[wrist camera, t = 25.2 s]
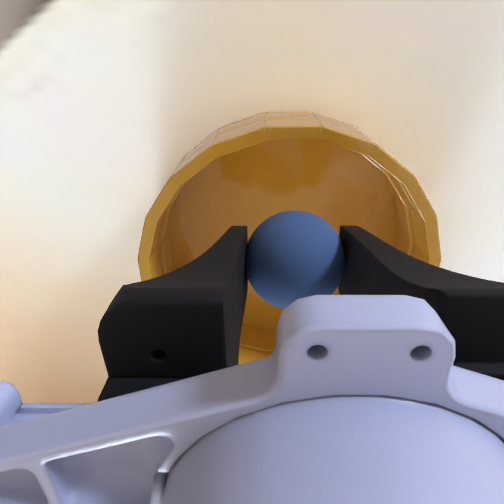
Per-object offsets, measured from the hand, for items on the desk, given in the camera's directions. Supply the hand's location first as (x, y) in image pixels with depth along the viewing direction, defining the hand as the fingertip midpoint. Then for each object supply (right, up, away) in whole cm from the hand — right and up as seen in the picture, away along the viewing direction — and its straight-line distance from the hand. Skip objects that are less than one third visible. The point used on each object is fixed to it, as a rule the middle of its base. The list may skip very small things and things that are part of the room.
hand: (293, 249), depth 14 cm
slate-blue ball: (0, 0, -1) cm, 1 cm away
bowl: (0, +1, +6) cm, 6 cm away
